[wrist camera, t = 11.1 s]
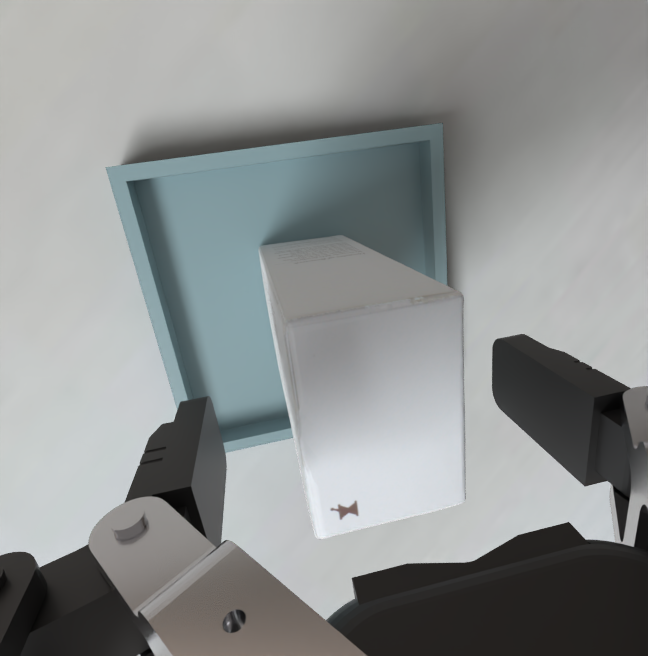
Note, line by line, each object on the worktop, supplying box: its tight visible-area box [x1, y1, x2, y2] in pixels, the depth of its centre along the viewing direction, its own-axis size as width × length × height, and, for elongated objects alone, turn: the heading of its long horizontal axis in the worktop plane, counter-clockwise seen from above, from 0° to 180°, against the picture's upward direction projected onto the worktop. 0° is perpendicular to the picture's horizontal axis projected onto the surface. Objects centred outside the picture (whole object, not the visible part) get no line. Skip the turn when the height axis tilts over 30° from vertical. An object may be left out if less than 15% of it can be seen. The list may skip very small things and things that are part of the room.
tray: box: [106, 123, 447, 453], centre depth 21 cm, size 14×14×2 cm
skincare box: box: [259, 235, 466, 539], centre depth 15 cm, size 6×4×12 cm
